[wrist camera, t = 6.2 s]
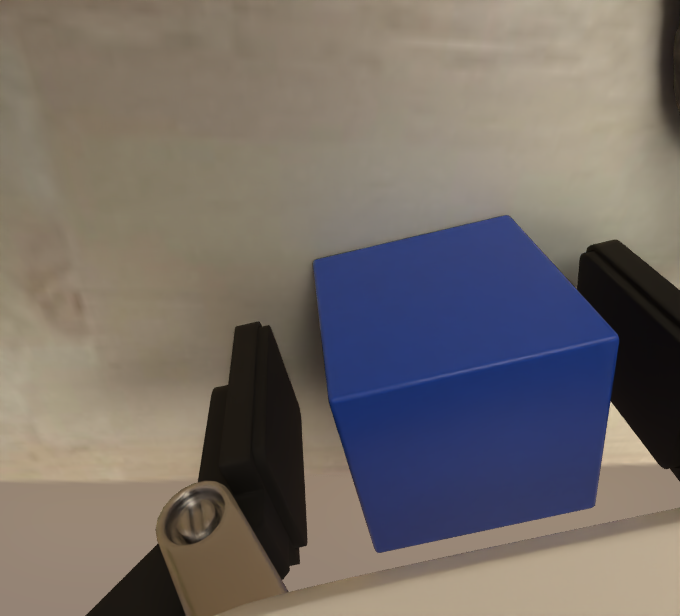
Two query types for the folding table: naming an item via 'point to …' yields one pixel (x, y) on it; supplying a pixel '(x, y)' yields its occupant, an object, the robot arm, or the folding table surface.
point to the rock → (677, 66)
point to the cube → (463, 382)
